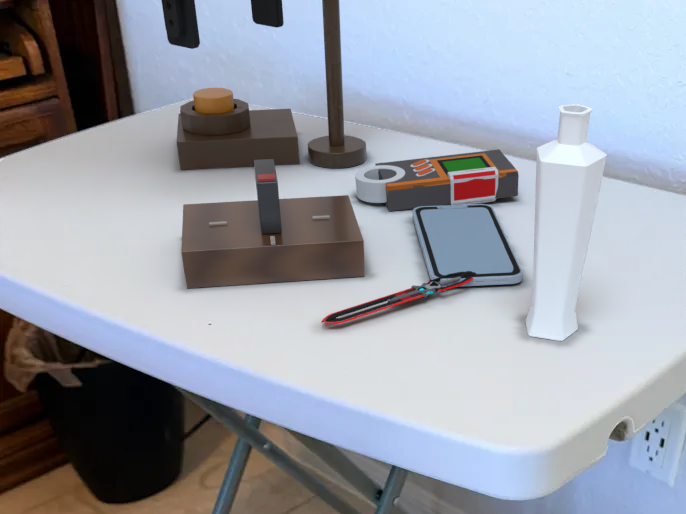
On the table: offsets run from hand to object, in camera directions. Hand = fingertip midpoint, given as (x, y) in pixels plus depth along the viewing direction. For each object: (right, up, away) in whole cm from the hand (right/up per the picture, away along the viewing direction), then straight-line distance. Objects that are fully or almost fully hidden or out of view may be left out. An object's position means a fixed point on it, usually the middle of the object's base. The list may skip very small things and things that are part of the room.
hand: (227, 35), depth 78 cm
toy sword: (+15, -25, -8) cm, 30 cm away
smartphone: (+20, -18, 0) cm, 27 cm away
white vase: (+25, -27, -10) cm, 39 cm away
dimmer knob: (+4, -17, -3) cm, 17 cm away
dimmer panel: (+4, -19, -1) cm, 19 cm away
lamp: (+8, -3, +18) cm, 20 cm away
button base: (-3, -1, +20) cm, 20 cm away
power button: (-5, +1, +17) cm, 18 cm away
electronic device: (+18, -10, +10) cm, 23 cm away
